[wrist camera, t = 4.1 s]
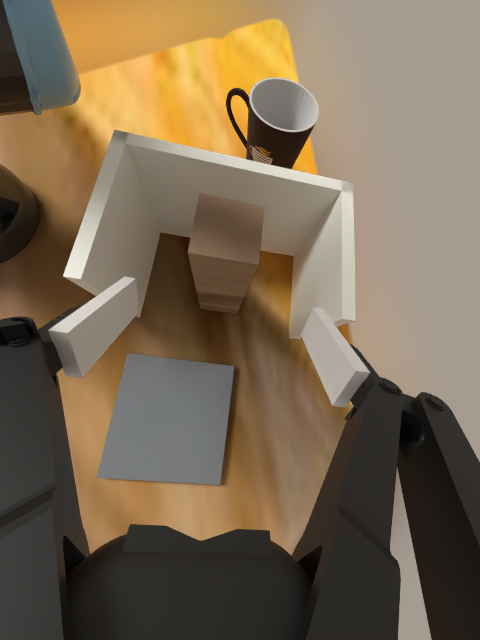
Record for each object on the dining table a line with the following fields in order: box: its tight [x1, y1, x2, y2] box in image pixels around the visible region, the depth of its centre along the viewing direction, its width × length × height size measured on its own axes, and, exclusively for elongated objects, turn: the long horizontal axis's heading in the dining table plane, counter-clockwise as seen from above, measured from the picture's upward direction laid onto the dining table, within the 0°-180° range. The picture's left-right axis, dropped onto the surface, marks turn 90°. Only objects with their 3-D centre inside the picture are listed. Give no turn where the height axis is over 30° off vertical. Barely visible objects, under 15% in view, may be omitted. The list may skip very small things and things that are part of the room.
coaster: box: [97, 353, 234, 485], centre depth 24 cm, size 13×13×1 cm
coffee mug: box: [226, 77, 319, 169], centre depth 29 cm, size 12×9×10 cm
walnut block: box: [188, 193, 265, 314], centre depth 21 cm, size 5×5×14 cm
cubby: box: [63, 130, 356, 339], centre depth 23 cm, size 14×22×12 cm, turn 83°
